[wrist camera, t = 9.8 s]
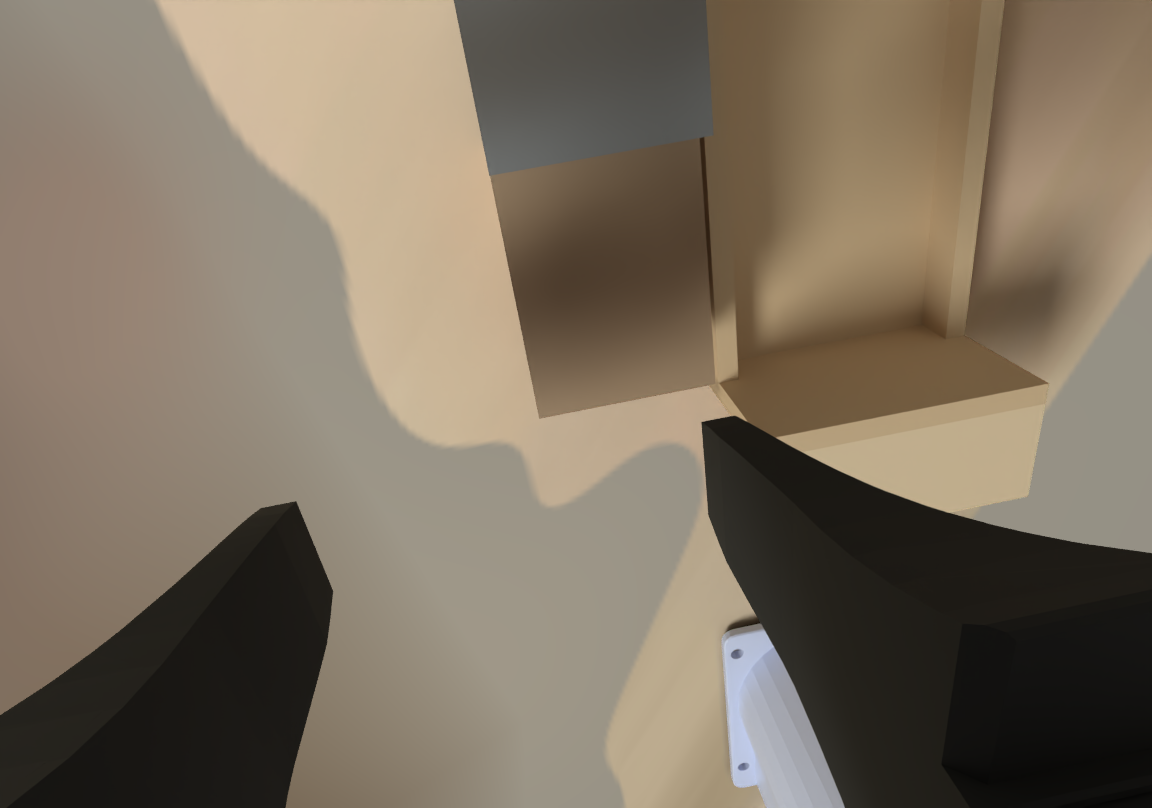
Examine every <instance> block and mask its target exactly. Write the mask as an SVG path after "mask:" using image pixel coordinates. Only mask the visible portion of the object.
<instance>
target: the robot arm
mask: <svg viewBox="0 0 1152 808" xmlns="http://www.w3.org/2000/svg"><path fill="white" fill-rule="evenodd" d="M702 434H703V448H704V461H705V475H706V488H707V501H708V515H709V518H710V520H711V523H712V526H713V528H714V531H715V534H716V536H717V539H718V541H719V544H720V546H721V549H722V551H723V554H724V556H725V559H726V561H727V563H728V565H729V567H730V569H731V571H732V572H733V574H734V576H735V578H736V580H737V582H738V583H739V585H740V587H741V589H742V591H743V592H744V594H745V596H746V598H747V600H748V601H749V603H750V605H751V607H752V609H753V610H754V612H755V614H756V616H757V618H758V619H759V621H760V624H755V625H750V626H746V627H741V628H736V629H732V630H729V631H728V632H726V633H725V634H724V635H723V637H722V654H723V668H724V682H725V697H726V711H727V725H728V739H729V753H730V767H731V777H732V780H733V783H734V785H735V786H737V787H741V788H742V787H748V786H753V785H758V788H759V791H760V793H761V796H762V798H763V801H764V804H765V806H766V808H1152V553H1146V552H1139V551H1132V550H1125V549H1117V548H1110V547H1103V546H1096V545H1089V544H1082V543H1076V542H1070V541H1066V540H1060V539H1055V538H1050V537H1045V536H1040V535H1035V534H1030V533H1025V532H1020V531H1017V530H1012V529H1008V528H1003V527H999V526H995V525H991V524H987V523H984V522H980V521H977V520H973V519H969V518H966V517H962V516H958V515H955V514H951V513H948V512H945V511H941V510H938V509H935V508H932V507H929V506H926V505H923V504H920V503H917V502H914V501H912V500H909V499H906V498H903V497H901V496H898V495H895V494H892V493H889V492H887V491H884V490H882V489H879V488H877V487H874V486H872V485H870V484H867V483H865V482H863V481H861V480H858V479H856V478H854V477H852V476H849V475H847V474H845V473H843V472H841V471H838V470H836V469H834V468H832V467H830V466H828V465H826V464H824V463H822V462H820V461H818V460H816V459H814V458H812V457H810V456H808V455H807V454H805V453H803V452H801V451H799V450H797V449H795V448H793V447H792V446H790V445H788V444H786V443H784V442H783V441H781V440H779V439H777V438H775V437H774V436H772V435H770V434H768V433H767V432H765V431H763V430H761V429H759V428H758V427H756V426H754V425H752V424H751V423H749V422H747V421H745V420H743V419H741V418H739V417H737V416H730V417H725V418H720V419H715V420H710V421H705V422H702ZM332 595H333V590H332V587H331V585H330V582H329V580H328V578H327V575H326V573H325V570H324V568H323V565H322V563H321V561H320V558H319V556H318V553H317V551H316V548H315V546H314V544H313V541H312V539H311V536H310V534H309V532H308V529H307V527H306V524H305V522H304V519H303V517H302V515H301V512H300V510H299V507H298V505H297V502H290V503H286V504H280V505H275V506H271V507H265V508H261V509H259V510H258V511H257V512H255V513H254V514H253V515H251V516H250V517H249V518H248V519H247V520H245V521H244V522H243V523H242V524H241V525H240V526H238V527H237V528H236V529H235V530H234V531H233V532H232V533H231V534H230V535H228V536H227V537H226V538H225V539H224V540H223V541H222V542H221V543H220V544H218V545H217V546H216V547H215V548H214V549H213V550H212V551H211V552H210V553H209V554H208V555H206V556H205V557H204V558H203V559H202V560H201V561H200V562H199V563H198V564H197V565H196V566H195V567H193V568H192V569H191V570H190V571H189V572H188V573H187V574H186V575H184V576H183V577H182V578H181V579H180V580H179V581H178V582H177V583H176V584H174V585H173V586H172V587H171V588H170V589H169V590H168V591H166V592H165V593H164V594H163V595H162V596H160V597H159V598H158V599H157V600H156V601H155V602H153V603H152V604H151V605H150V606H149V607H147V608H146V609H145V610H144V611H143V612H142V613H140V614H139V615H138V616H137V617H136V618H134V619H133V620H132V621H131V622H130V623H129V624H128V625H126V626H125V627H124V628H123V629H121V630H120V631H119V632H118V633H116V634H115V635H114V636H113V637H111V638H110V639H109V640H108V641H106V642H105V643H104V644H102V645H101V646H100V647H99V648H97V649H96V650H95V651H93V652H92V653H91V654H89V655H88V656H86V657H85V658H84V659H83V660H81V661H80V662H78V663H77V664H75V665H74V666H73V667H72V668H70V669H69V670H67V671H66V672H64V673H63V674H62V675H60V676H59V677H58V678H56V679H55V680H53V681H52V682H50V683H49V684H47V685H46V686H45V687H43V688H42V689H40V690H39V691H37V692H36V693H34V694H33V695H31V696H29V697H28V698H26V699H25V700H23V701H21V702H20V703H18V704H17V705H15V706H14V707H12V708H11V709H9V710H8V711H6V712H4V713H3V714H2V715H0V808H285V807H286V801H287V795H288V790H289V786H290V782H291V777H292V773H293V768H294V764H295V761H296V757H297V753H298V750H299V746H300V742H301V738H302V735H303V731H304V728H305V724H306V720H307V717H308V713H309V709H310V706H311V702H312V698H313V694H314V691H315V687H316V684H317V680H318V676H319V672H320V668H321V665H322V660H323V657H324V652H325V649H326V645H327V638H328V632H329V623H330V615H331V605H332ZM736 649H738V650H736ZM734 650H736V651H734Z"/></svg>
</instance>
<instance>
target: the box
mask: <svg viewBox="0 0 1152 808" xmlns="http://www.w3.org/2000/svg"><path fill="white" fill-rule="evenodd" d="M454 3H455V8H456V13H457V18H458V23H459V28H460V33H461V38H462V43H463V48H464V53H465V58H466V63H467V67H468V72H469V77H470V82H471V87H472V92H473V97H474V102H475V107H476V112H477V117H478V122H479V127H480V131H481V136H482V141H483V146H484V151H485V156H486V161H487V166H488V171H489V176H490V177H491V182H492V187H493V192H494V197H495V202H496V207H497V212H498V217H499V222H500V227H501V232H502V236H503V241H504V246H505V251H506V256H507V261H508V266H509V271H510V276H511V281H512V286H513V291H514V296H515V301H516V306H517V310H518V315H519V320H520V325H521V330H522V335H523V340H524V345H525V350H526V355H527V360H528V365H529V370H530V375H531V380H532V384H533V389H534V394H535V399H536V404H537V409H538V414H539V419H540V418H545V417H550V416H555V415H560V414H565V413H570V412H575V411H580V410H585V409H590V408H595V407H601V406H606V405H611V404H616V403H621V402H626V401H631V400H636V399H641V398H646V397H651V396H656V395H661V394H667V393H672V392H677V391H682V390H687V389H692V388H697V387H702V386H707V385H712V384H716V381H715V365H714V350H713V335H712V320H711V304H710V289H709V274H708V259H707V243H706V228H705V213H704V198H703V182H702V167H701V152H700V138H702V137H708V136H713V135H714V134H713V117H712V99H711V81H710V64H709V46H708V28H707V11H706V0H454Z"/></svg>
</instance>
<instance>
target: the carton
mask: <svg viewBox="0 0 1152 808" xmlns="http://www.w3.org/2000/svg"><path fill="white" fill-rule="evenodd" d="M1004 3H1005V0H706V11H707V28H708V46H709V64H710V81H711V99H712V117H713V134H714V135H713V136H708V137H702V138H700V152H701V167H702V182H703V198H704V213H705V228H706V243H707V259H708V274H709V289H710V304H711V320H712V335H713V350H714V365H715V381H716V384H712V385H709V386H710V387H711V389H712V390H713V392H714V393H715V394H716V396H717V397H718V399H719V400H720V401H721V403H722V404H723V406H724V407H725V408H726V410H727V411H728V413H729V414H730V415H731V416H737V417H739V418H741V419H743V420H745V421H747V422H749V423H751V424H752V425H754V426H756V427H758V428H759V429H761V430H763V431H765V432H767V433H768V434H770V435H772V436H774V437H775V438H777V439H779V440H781V441H783V442H784V443H786V444H788V445H790V446H792V447H793V448H795V449H797V450H799V451H801V452H803V453H805V454H807V455H808V456H810V457H812V458H814V459H816V460H818V461H820V462H822V463H824V464H826V465H828V466H830V467H832V468H834V469H836V470H838V471H841V472H843V473H845V474H847V475H849V476H852V477H854V478H856V479H858V480H861V481H863V482H865V483H867V484H870V485H872V486H874V487H877V488H879V489H882V490H884V491H887V492H889V493H892V494H895V495H898V496H901V497H903V498H906V499H909V500H912V501H914V502H917V503H920V504H923V505H926V506H929V507H932V508H935V509H938V510H941V511H945V512H948V513H950V512H955V511H960V510H965V509H970V508H975V507H980V506H985V505H989V504H994V503H999V502H1004V501H1009V500H1014V499H1019V498H1023V497H1028V494H1029V489H1030V483H1031V478H1032V472H1033V467H1034V462H1035V457H1036V451H1037V445H1038V441H1039V435H1040V430H1041V425H1042V419H1043V414H1044V408H1045V403H1046V398H1047V392H1048V387H1049V383H1047V382H1046V381H1044V380H1042V379H1040V378H1038V377H1037V376H1035V375H1033V374H1031V373H1030V372H1028V371H1026V370H1024V369H1023V368H1021V367H1019V366H1017V365H1016V364H1014V363H1012V362H1010V361H1008V360H1007V359H1005V358H1003V357H1001V356H1000V355H998V354H996V353H994V352H993V351H991V350H989V349H987V348H986V347H984V346H982V345H980V344H978V343H977V342H975V341H973V340H971V339H970V338H968V337H966V336H965V329H966V320H967V312H968V304H969V295H970V287H971V279H972V270H973V262H974V254H975V245H976V237H977V228H978V220H979V212H980V203H981V195H982V187H983V178H984V170H985V162H986V153H987V145H988V137H989V128H990V120H991V112H992V103H993V95H994V87H995V78H996V70H997V62H998V53H999V45H1000V37H1001V28H1002V20H1003V12H1004Z"/></svg>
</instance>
